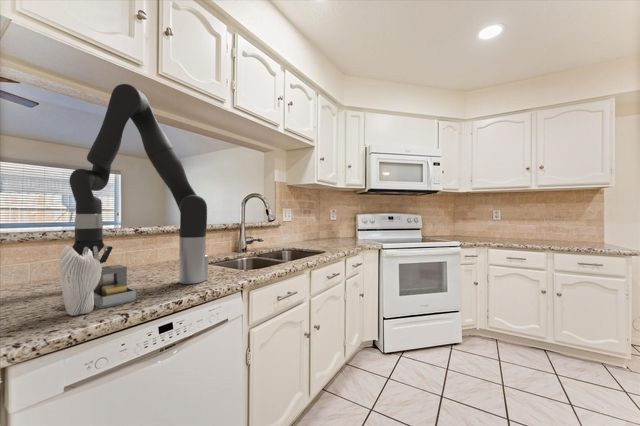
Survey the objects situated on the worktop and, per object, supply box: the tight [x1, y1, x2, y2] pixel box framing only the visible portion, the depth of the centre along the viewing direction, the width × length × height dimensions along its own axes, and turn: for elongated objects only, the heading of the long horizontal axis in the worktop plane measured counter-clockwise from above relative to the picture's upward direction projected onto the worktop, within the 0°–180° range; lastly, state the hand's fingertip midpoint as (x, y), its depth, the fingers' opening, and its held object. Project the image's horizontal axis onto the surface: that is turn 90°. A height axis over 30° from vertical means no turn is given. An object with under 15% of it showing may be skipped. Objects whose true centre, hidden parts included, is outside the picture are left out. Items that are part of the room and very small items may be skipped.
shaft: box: [103, 273, 114, 285], centre depth 91 cm, size 3×21×8 cm, turn 54°
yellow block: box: [102, 284, 128, 297], centre depth 82 cm, size 5×4×4 cm
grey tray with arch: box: [93, 264, 138, 310], centre depth 84 cm, size 9×14×9 cm, turn 54°
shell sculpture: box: [58, 245, 103, 317], centre depth 73 cm, size 8×8×18 cm
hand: (88, 276), depth 97 cm, fingers closed on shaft, 3 cm apart
